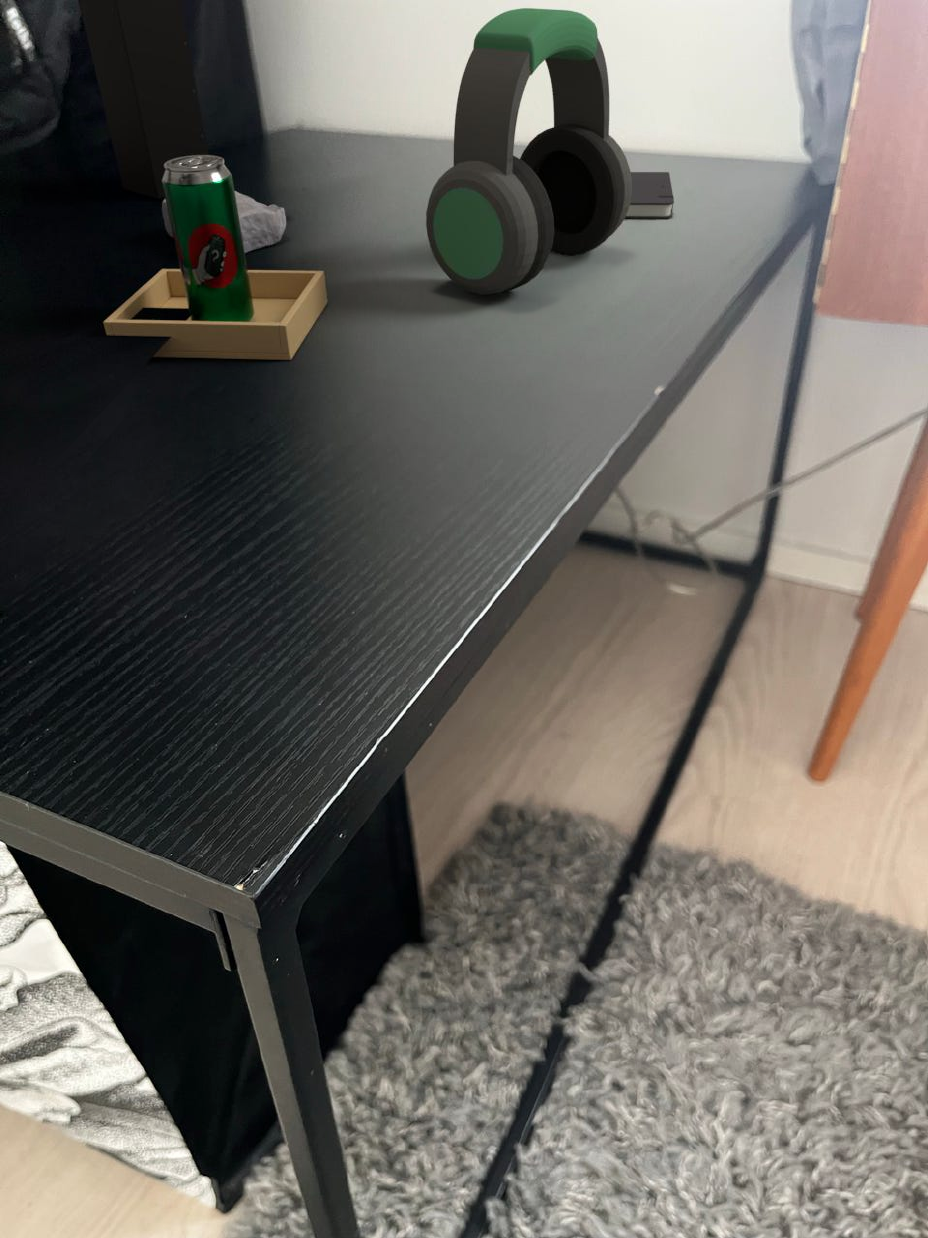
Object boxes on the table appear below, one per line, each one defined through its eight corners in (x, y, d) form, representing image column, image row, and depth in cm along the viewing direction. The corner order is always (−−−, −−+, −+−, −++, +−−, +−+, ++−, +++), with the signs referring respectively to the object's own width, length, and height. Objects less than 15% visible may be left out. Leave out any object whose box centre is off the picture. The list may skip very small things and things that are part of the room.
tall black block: (158, 200, 108) (91, -108, 90) (121, 189, 112) (51, -107, 94) (215, 186, 112) (161, -111, 95) (178, 176, 116) (120, -110, 99)
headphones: (522, 314, 77) (526, 28, 64) (419, 289, 82) (404, 20, 70) (635, 252, 89) (658, 0, 76) (539, 234, 94) (545, -5, 81)
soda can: (268, 318, 76) (243, 157, 69) (224, 339, 73) (192, 172, 66) (224, 307, 79) (195, 150, 71) (178, 326, 75) (143, 164, 68)
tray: (112, 356, 72) (102, 321, 71) (168, 299, 82) (161, 268, 80) (290, 360, 71) (285, 325, 69) (327, 302, 80) (324, 270, 79)
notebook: (667, 186, 107) (481, 185, 109) (669, 171, 106) (481, 171, 108) (673, 218, 97) (468, 217, 99) (674, 202, 96) (468, 201, 98)
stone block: (241, 233, 102) (155, 233, 96) (242, 185, 100) (154, 183, 94) (302, 261, 96) (213, 264, 89) (305, 211, 93) (214, 210, 87)
